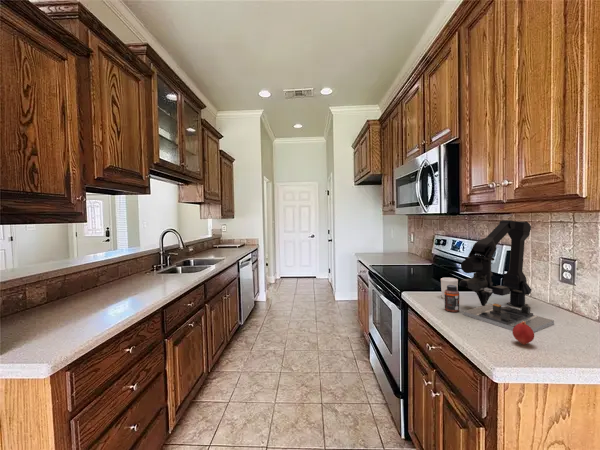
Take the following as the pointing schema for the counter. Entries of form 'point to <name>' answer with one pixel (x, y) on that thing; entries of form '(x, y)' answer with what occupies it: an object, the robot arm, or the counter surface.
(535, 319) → the breaker panel
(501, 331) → the counter surface
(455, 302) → the supplement bottle
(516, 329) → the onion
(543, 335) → the counter surface
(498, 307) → the block
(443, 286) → the white cup
